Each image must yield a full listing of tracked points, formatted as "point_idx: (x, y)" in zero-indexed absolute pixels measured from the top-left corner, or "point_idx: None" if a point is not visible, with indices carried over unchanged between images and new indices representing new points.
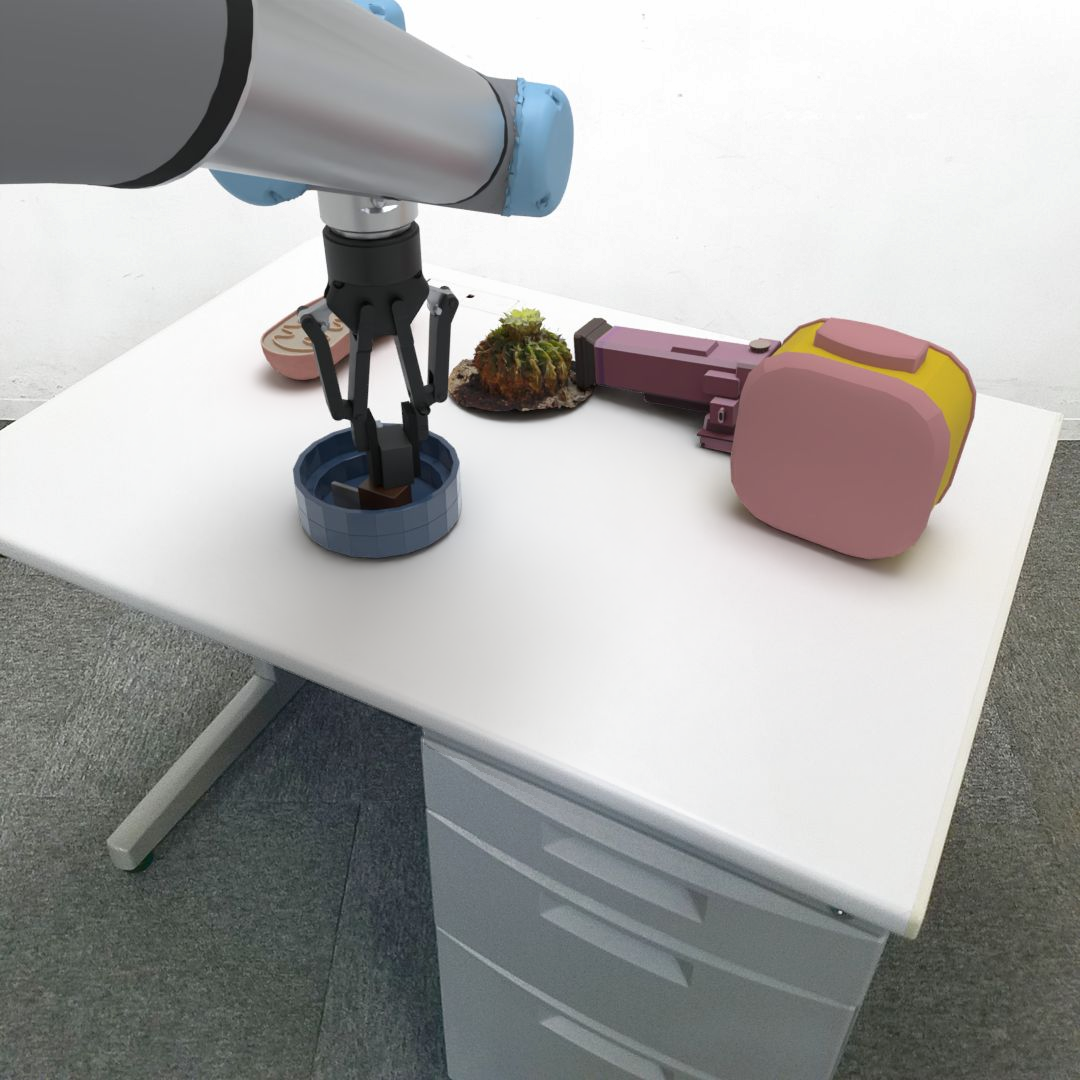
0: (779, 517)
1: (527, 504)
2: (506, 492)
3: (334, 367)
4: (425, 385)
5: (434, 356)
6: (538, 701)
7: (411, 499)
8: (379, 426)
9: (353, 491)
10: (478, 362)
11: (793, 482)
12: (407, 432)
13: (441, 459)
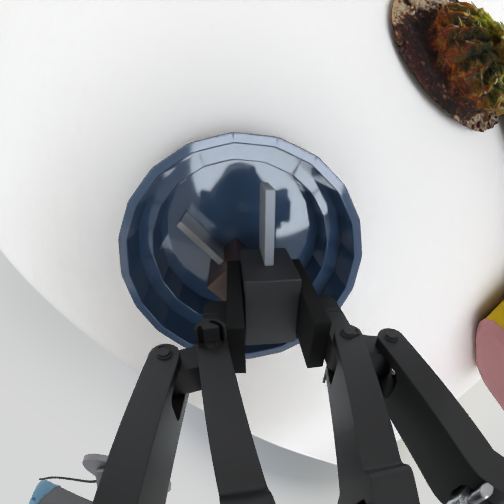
0: (479, 345)
1: (387, 266)
2: (381, 240)
3: (168, 484)
4: (373, 354)
5: (407, 432)
6: (285, 426)
7: None
8: (268, 214)
9: (204, 251)
10: (447, 31)
11: (494, 365)
12: (300, 326)
13: (340, 220)
